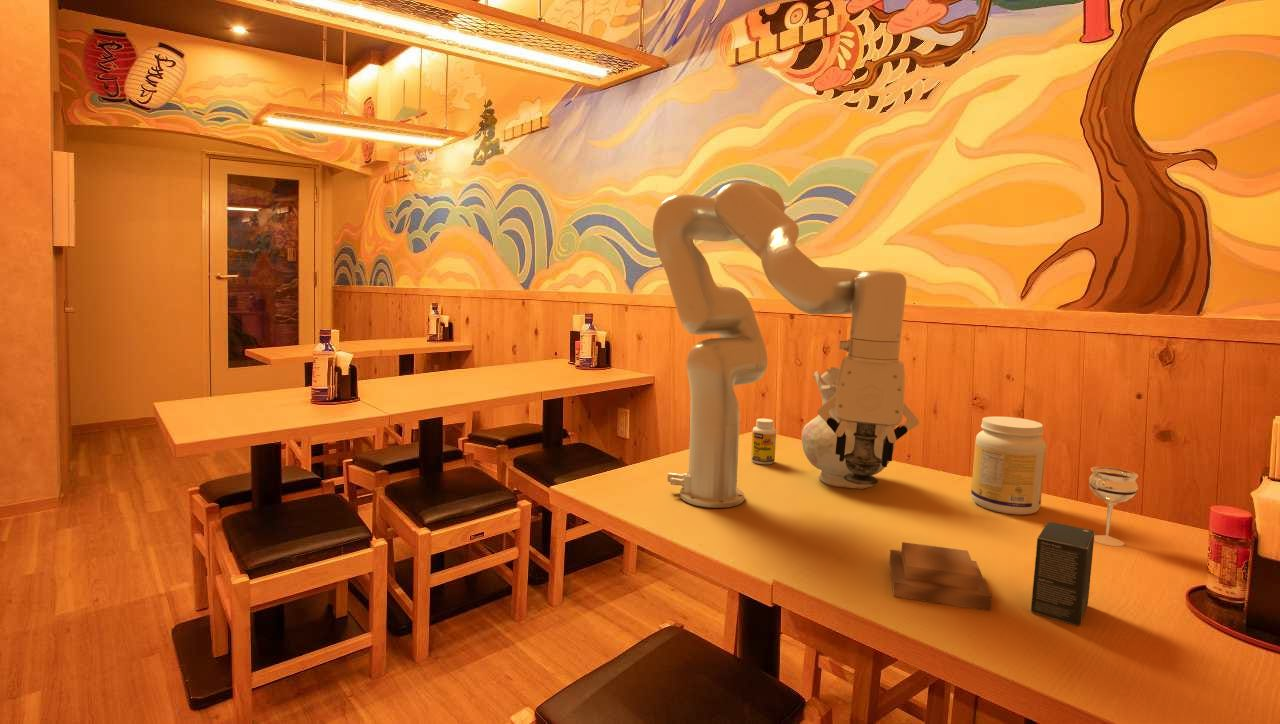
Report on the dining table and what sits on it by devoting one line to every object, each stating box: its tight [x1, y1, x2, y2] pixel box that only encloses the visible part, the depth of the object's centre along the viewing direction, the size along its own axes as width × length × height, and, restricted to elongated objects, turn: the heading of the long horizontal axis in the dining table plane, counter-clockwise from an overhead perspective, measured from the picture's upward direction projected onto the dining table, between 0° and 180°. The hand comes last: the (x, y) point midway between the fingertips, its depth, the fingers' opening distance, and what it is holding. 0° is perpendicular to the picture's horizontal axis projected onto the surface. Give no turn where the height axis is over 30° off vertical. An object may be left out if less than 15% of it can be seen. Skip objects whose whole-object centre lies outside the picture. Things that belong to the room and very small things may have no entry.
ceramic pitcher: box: [801, 366, 896, 490], centre depth 143 cm, size 22×20×25 cm
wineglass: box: [1088, 466, 1139, 547], centre depth 113 cm, size 7×7×12 cm
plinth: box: [888, 541, 993, 612], centre depth 95 cm, size 12×12×4 cm
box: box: [1030, 521, 1095, 627], centre depth 89 cm, size 8×6×11 cm
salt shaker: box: [844, 423, 882, 486], centre depth 106 cm, size 6×6×12 cm
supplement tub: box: [970, 415, 1047, 516], centre depth 130 cm, size 12×12×17 cm
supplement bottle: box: [750, 418, 777, 466], centre depth 158 cm, size 6×6×10 cm
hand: (862, 461), depth 107 cm, fingers closed on salt shaker, 5 cm apart
